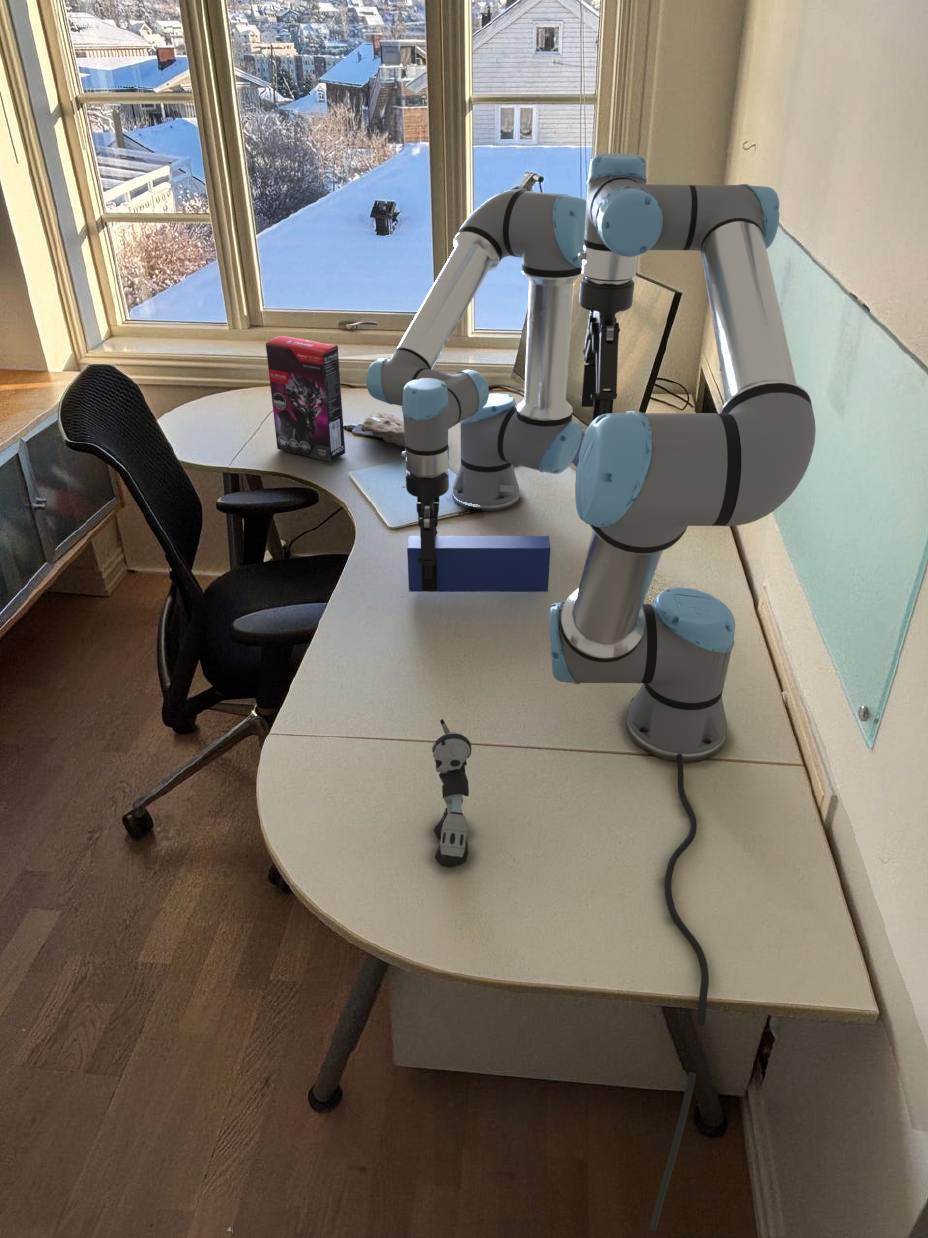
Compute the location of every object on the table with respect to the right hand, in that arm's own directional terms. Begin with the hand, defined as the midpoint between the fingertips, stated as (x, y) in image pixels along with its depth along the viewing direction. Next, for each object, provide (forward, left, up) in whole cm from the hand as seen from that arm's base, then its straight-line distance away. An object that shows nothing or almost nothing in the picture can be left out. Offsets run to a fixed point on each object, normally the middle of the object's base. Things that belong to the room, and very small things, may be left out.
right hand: (594, 422), depth 140 cm
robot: (-52, +8, -41) cm, 66 cm away
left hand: (+8, +29, -38) cm, 48 cm away
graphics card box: (+62, +77, -41) cm, 107 cm away
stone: (+74, +58, -41) cm, 103 cm away
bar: (+10, +20, -38) cm, 45 cm away
